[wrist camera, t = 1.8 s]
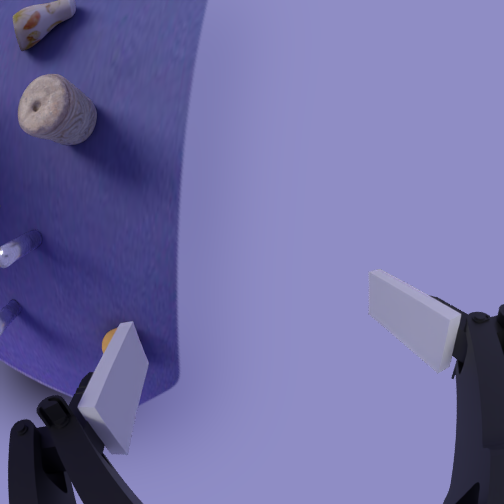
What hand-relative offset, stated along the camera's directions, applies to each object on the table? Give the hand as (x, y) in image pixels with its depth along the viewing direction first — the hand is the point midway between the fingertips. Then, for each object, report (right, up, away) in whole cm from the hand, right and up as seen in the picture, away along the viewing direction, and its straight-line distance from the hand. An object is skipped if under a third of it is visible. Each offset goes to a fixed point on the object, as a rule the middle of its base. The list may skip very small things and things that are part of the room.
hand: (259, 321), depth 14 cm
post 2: (-30, +5, +15) cm, 34 cm away
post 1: (-37, -5, +16) cm, 40 cm away
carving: (-22, +20, +13) cm, 32 cm away
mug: (-29, +36, +6) cm, 47 cm away
